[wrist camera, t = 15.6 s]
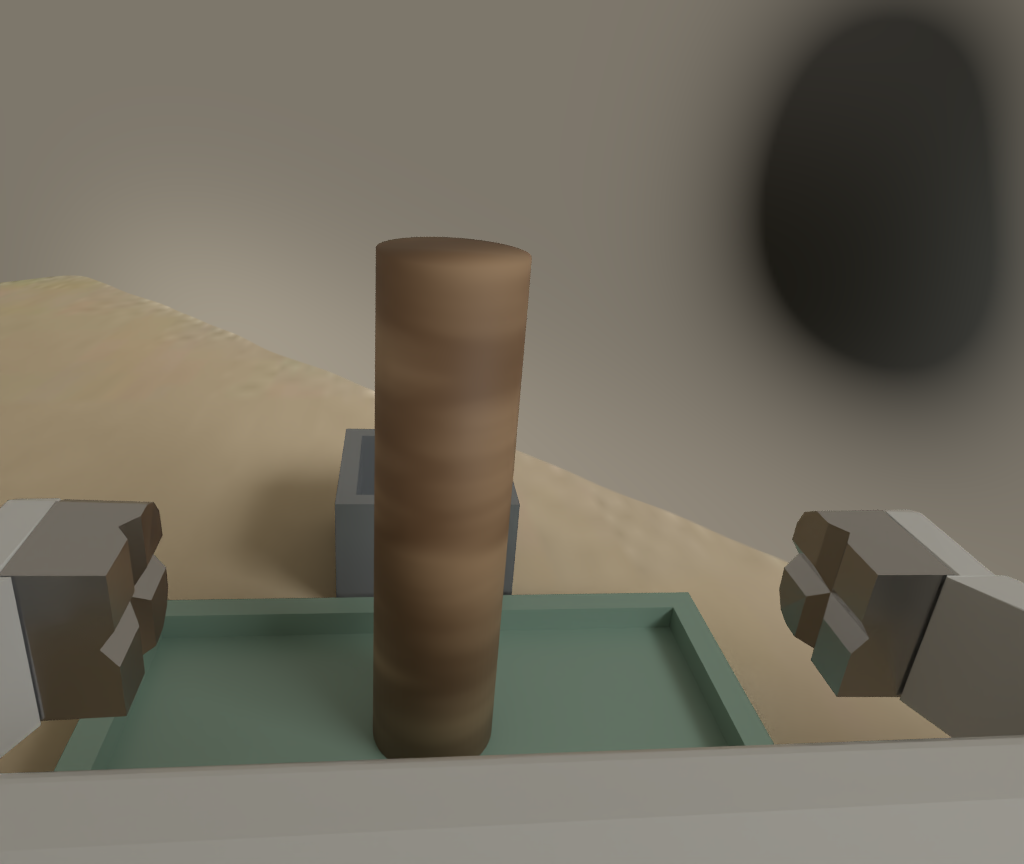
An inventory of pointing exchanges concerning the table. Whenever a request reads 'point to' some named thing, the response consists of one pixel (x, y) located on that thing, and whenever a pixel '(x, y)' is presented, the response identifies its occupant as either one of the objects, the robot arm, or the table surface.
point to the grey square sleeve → (359, 519)
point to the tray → (349, 683)
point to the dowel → (443, 485)
